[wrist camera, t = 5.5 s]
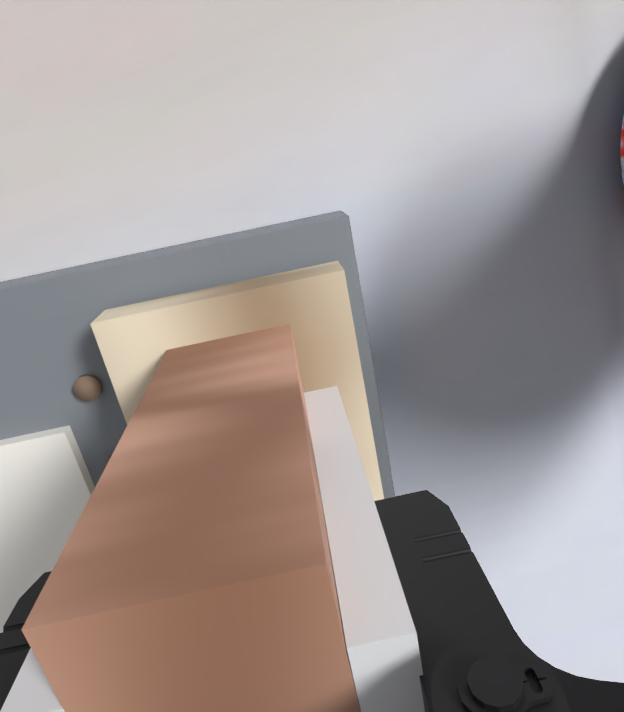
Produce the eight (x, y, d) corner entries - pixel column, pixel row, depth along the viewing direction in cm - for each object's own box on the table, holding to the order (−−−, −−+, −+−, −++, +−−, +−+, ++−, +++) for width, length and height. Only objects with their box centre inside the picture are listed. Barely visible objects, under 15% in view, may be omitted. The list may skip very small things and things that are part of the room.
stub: (182, 530, 16) (83, 972, 7) (105, 309, 13) (-188, 583, 5) (378, 488, 16) (511, 878, 7) (337, 260, 13) (468, 443, 5)
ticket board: (15, 735, 21) (-9, 789, 19) (-227, 329, 15) (-295, 353, 13) (414, 648, 21) (429, 693, 19) (340, 210, 15) (351, 217, 13)
